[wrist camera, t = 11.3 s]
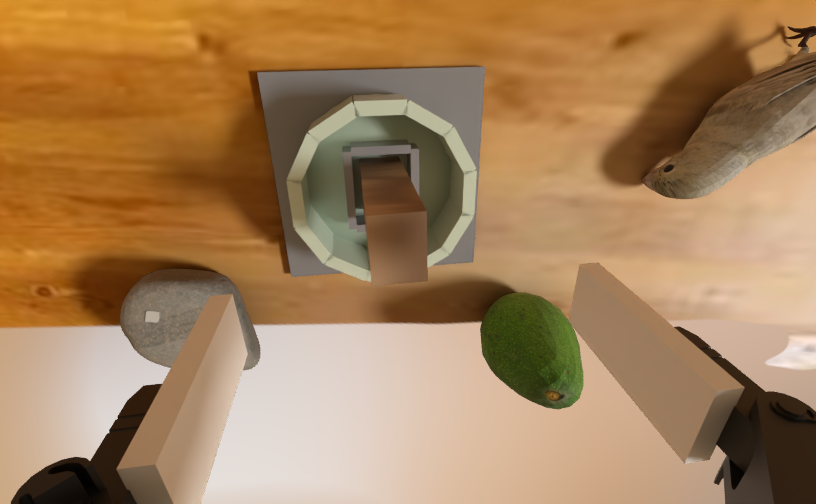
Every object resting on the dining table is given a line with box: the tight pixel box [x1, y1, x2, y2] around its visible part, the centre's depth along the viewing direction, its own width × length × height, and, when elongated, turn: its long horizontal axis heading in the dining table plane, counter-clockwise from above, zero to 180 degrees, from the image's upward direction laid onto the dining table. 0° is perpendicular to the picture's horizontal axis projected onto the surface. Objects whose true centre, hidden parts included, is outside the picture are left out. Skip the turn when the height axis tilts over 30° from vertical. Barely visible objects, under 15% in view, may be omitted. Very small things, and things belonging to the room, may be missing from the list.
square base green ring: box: [257, 66, 485, 281], centre depth 30 cm, size 16×16×5 cm
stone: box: [120, 269, 260, 370], centre depth 33 cm, size 9×9×10 cm
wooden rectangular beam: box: [359, 156, 428, 286], centre depth 26 cm, size 3×4×12 cm
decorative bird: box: [642, 26, 816, 199], centre depth 31 cm, size 5×16×7 cm, turn 134°
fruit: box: [480, 293, 583, 409], centre depth 35 cm, size 8×8×12 cm
